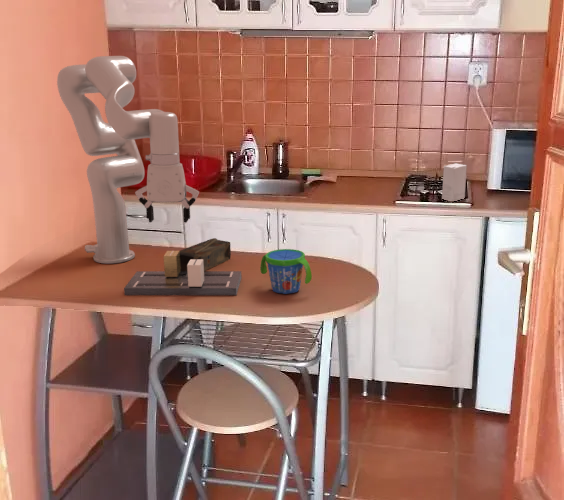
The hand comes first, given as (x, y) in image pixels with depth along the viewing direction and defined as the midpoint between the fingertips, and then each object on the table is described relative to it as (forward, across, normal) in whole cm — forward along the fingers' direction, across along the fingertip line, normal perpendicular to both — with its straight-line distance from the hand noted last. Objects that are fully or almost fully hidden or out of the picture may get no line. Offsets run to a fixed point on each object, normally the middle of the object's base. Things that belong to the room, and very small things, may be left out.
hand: (168, 221), depth 188 cm
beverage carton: (+18, +7, +14) cm, 24 cm away
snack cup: (+17, +32, -7) cm, 37 cm away
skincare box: (+18, +98, +101) cm, 142 cm away
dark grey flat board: (+17, +4, -4) cm, 18 cm away
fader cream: (+15, +8, -8) cm, 19 cm away
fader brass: (+15, 0, 0) cm, 15 cm away
